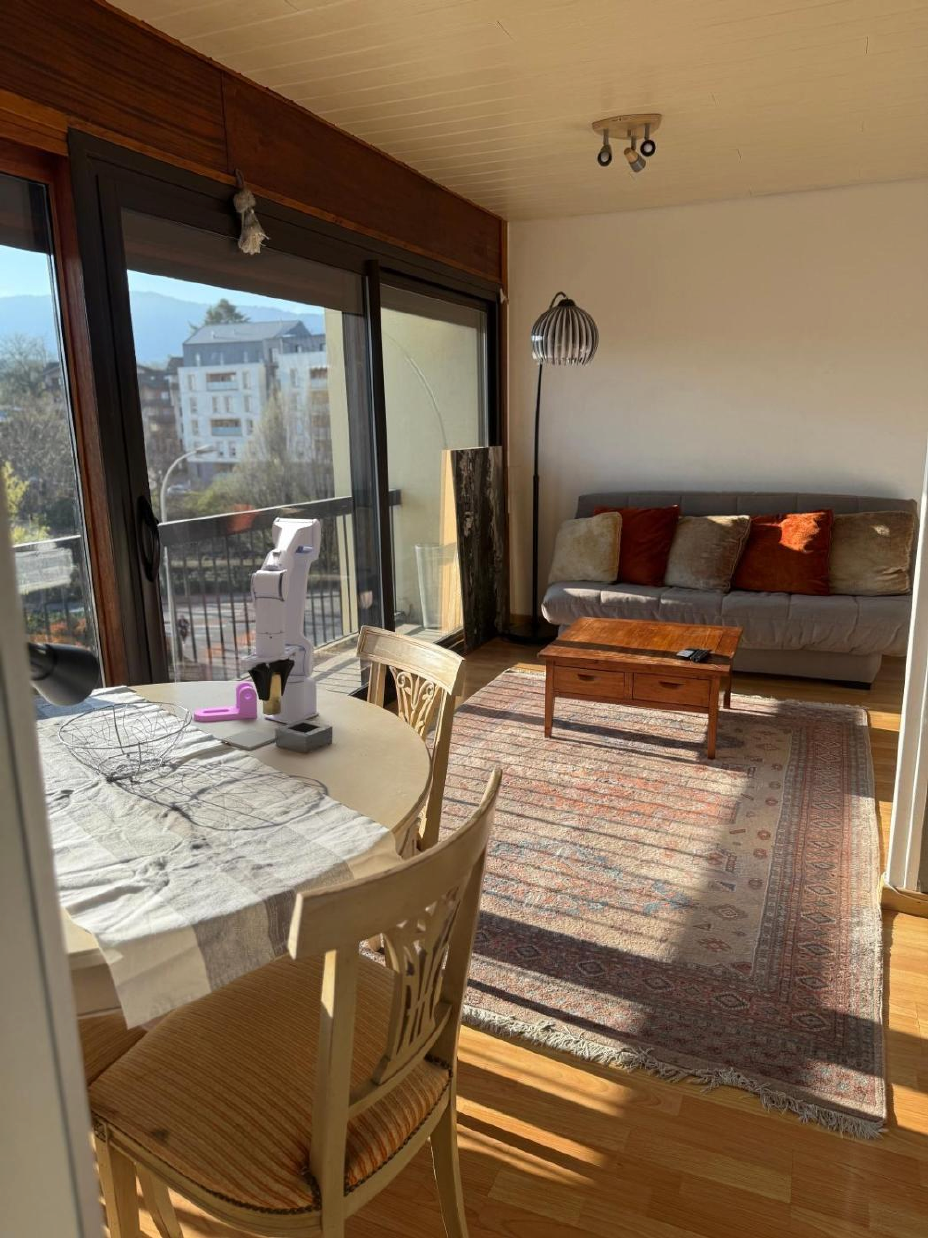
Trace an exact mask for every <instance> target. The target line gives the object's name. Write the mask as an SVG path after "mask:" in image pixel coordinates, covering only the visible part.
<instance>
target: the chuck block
mask: <svg viewBox="0 0 928 1238" xmlns="http://www.w3.org/2000/svg"><path fill="white" fill-rule="evenodd" d="M274 731H275V732H274V734H275V735H274V736H275V741H274V742H275V743H274V746H275V747H280V748H284V749H287V750H290V751H295V752H297V753H300V754H304V755H307V754H310V753H312V752H315V751H316V750H318V749H322V748H324V747H326V746H328V745H331V744H333V726H332V725H329V724H328V725H327V724H324V723H320V722H317V721H313V720H308V719H301V720H298V721H295V722H293V723H290V724H287V723H286V724H285V725H282V726H279V727H276V728H275V730H274Z"/></svg>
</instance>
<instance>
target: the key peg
mask: <svg viewBox="0 0 928 1238" xmlns="http://www.w3.org/2000/svg"><path fill="white" fill-rule="evenodd" d="M280 713H281V673H280V672H276V671H274V672H273V674H272V678H271V683H270V697H269V700H268V701H263V700H262V714H264V715H277V714H280Z"/></svg>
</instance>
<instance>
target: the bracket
mask: <svg viewBox="0 0 928 1238" xmlns="http://www.w3.org/2000/svg"><path fill="white" fill-rule="evenodd" d="M235 698H236V699H235V702H236V704H235V705H230V706H218V707H206V708H205V707H204V708H200V709H196V710H195V711H194V712H193V719H194V720H195V719H196V720H195V721H197V720H198V722H204V721H205V722H216V721H227V720H228V721H230V720H243V719H254V718H255V719H257V718H258V694H257V690H256V689H255V688H254V686H253V684H252V683H251V682H249V681H247V680H244V681H241V682H239V683H238V684H237V685H236V687H235Z"/></svg>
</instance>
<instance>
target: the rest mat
mask: <svg viewBox="0 0 928 1238" xmlns="http://www.w3.org/2000/svg"><path fill="white" fill-rule="evenodd" d="M221 741H222V742H221ZM220 742H221V743H223V742H227V743H229V744H230V746H233V747H237V748H240V749H243V750H246V751H252V750H254V749H257V748H260V747H262V746H263V747H264V746H265V745H268V744H270V743H272V742H275V735H273V734H271V733H267V732H262V731H259V730H256V729H251V728H248V729H247V730H243V731H240V732H237V733H235V734H232V735H229V736H226V737H223V738H221V739H220ZM229 744H228V745H229Z"/></svg>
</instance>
